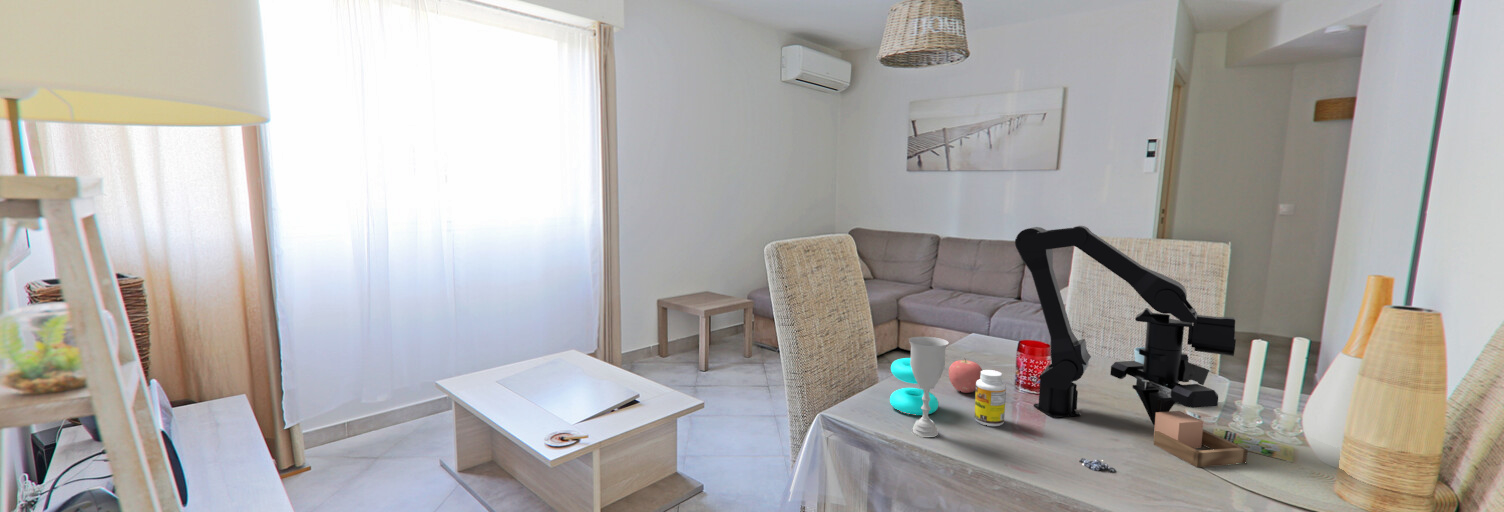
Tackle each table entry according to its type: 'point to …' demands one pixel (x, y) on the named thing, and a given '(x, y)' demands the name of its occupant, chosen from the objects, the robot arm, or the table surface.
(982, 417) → the supplement bottle
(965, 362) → the apple
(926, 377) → the chalice
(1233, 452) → the frame
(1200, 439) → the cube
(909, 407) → the donuts
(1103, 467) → the metal chain
